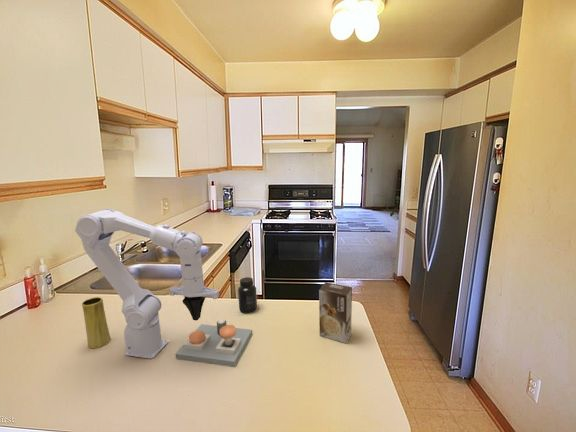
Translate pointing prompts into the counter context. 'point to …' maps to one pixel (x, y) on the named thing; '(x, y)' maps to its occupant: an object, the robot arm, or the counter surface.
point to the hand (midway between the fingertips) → (196, 318)
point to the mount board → (215, 347)
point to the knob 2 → (227, 333)
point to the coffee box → (335, 311)
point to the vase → (95, 322)
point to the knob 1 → (197, 337)
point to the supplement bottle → (247, 296)
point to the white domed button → (220, 325)
